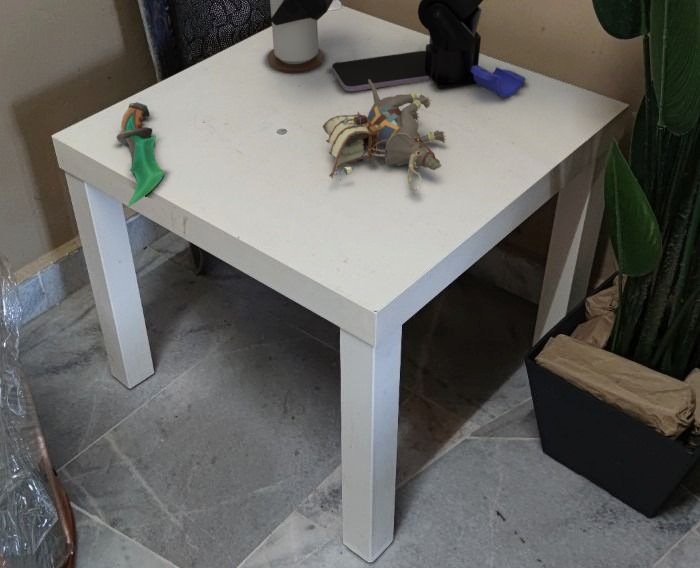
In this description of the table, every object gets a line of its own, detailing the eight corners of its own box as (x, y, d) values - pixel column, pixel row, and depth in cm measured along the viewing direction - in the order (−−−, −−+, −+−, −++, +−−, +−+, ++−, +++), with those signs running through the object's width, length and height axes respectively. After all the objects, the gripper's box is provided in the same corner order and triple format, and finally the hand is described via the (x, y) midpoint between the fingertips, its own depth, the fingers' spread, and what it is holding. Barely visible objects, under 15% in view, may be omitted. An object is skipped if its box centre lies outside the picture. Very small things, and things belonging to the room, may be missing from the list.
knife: (151, 110, 122) (112, 111, 121) (150, 98, 121) (111, 100, 119) (170, 210, 107) (126, 213, 106) (169, 197, 106) (125, 201, 105)
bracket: (532, 81, 125) (525, 99, 127) (507, 68, 128) (500, 86, 129) (490, 77, 119) (483, 95, 120) (465, 63, 122) (458, 81, 123)
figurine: (483, 138, 107) (359, 183, 100) (478, 179, 111) (358, 225, 105) (392, 58, 119) (276, 94, 113) (390, 97, 123) (278, 134, 117)
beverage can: (327, 57, 131) (325, -24, 123) (291, 71, 128) (286, -11, 120) (301, 41, 135) (297, -39, 127) (265, 54, 132) (259, -27, 124)
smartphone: (447, 73, 128) (345, 88, 124) (446, 80, 128) (345, 95, 125) (428, 49, 133) (329, 63, 129) (427, 56, 134) (329, 70, 130)
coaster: (315, 43, 136) (315, 39, 135) (329, 68, 130) (329, 64, 130) (262, 50, 134) (262, 47, 134) (274, 76, 129) (274, 73, 128)
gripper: (333, -138, 122) (260, -62, 131) (295, -88, 108) (217, -7, 118) (390, -74, 126) (315, -5, 135) (360, -18, 112) (279, 55, 122)
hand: (282, 7), depth 127 cm, fingers open, 9 cm apart
